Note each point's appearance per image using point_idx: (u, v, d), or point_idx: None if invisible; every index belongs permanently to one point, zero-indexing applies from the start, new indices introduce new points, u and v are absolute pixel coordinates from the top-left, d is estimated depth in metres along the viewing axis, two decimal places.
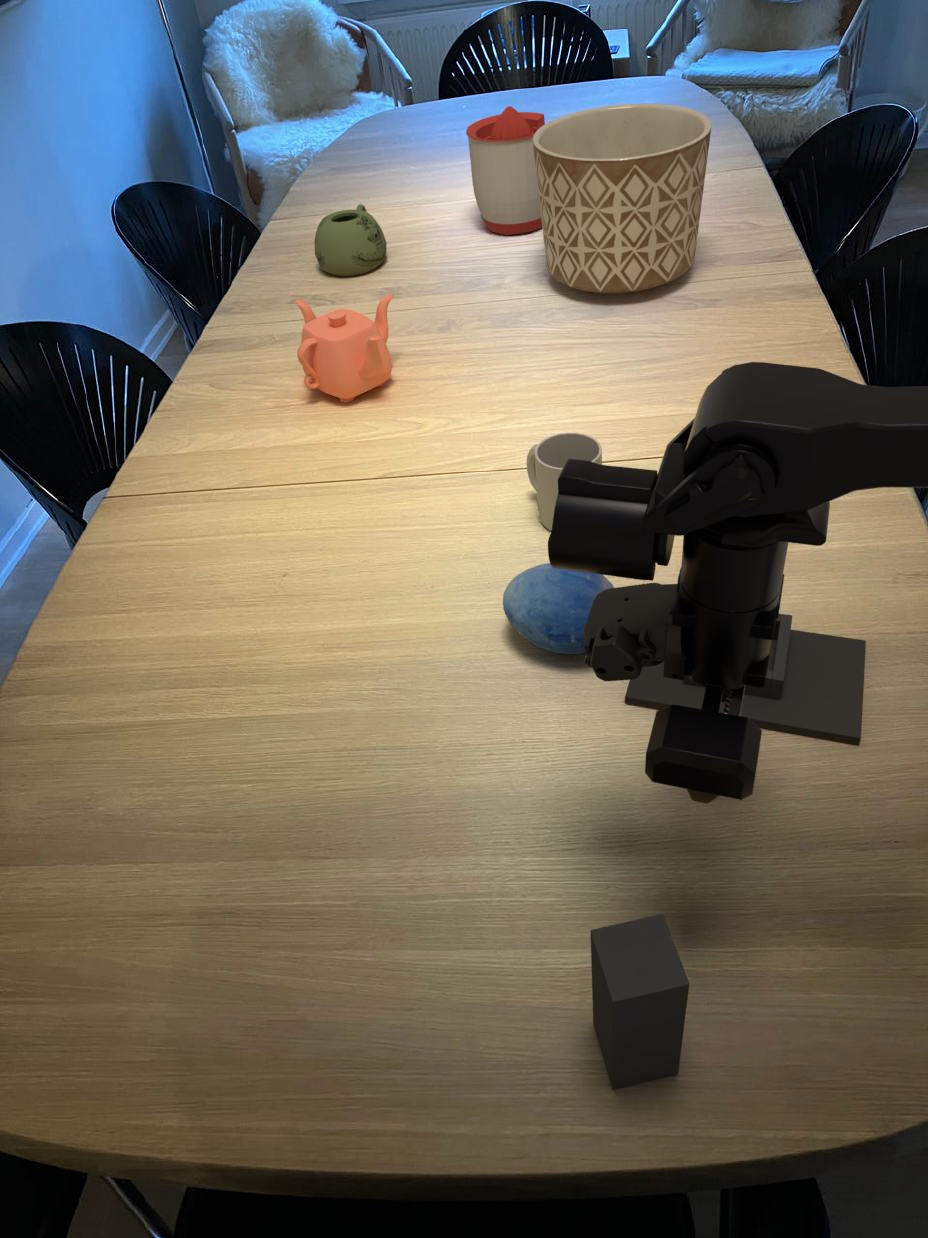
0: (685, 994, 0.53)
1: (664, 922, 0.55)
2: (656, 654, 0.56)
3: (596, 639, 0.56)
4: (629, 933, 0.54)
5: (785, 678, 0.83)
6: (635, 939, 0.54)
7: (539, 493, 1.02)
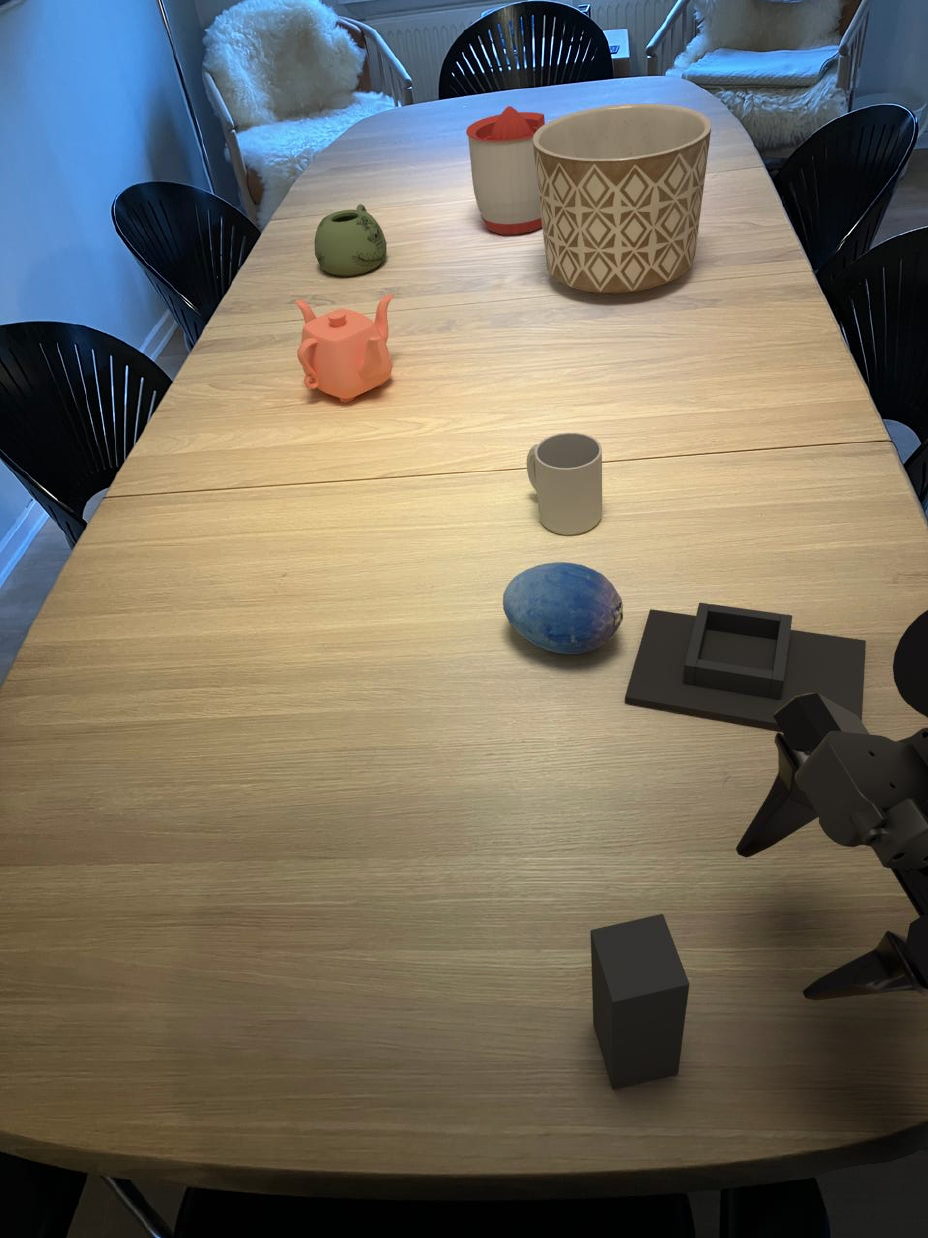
0: (685, 994, 0.53)
1: (664, 922, 0.55)
2: None
3: (924, 818, 0.42)
4: (629, 933, 0.54)
5: (785, 678, 0.83)
6: (635, 939, 0.54)
7: (539, 493, 1.02)
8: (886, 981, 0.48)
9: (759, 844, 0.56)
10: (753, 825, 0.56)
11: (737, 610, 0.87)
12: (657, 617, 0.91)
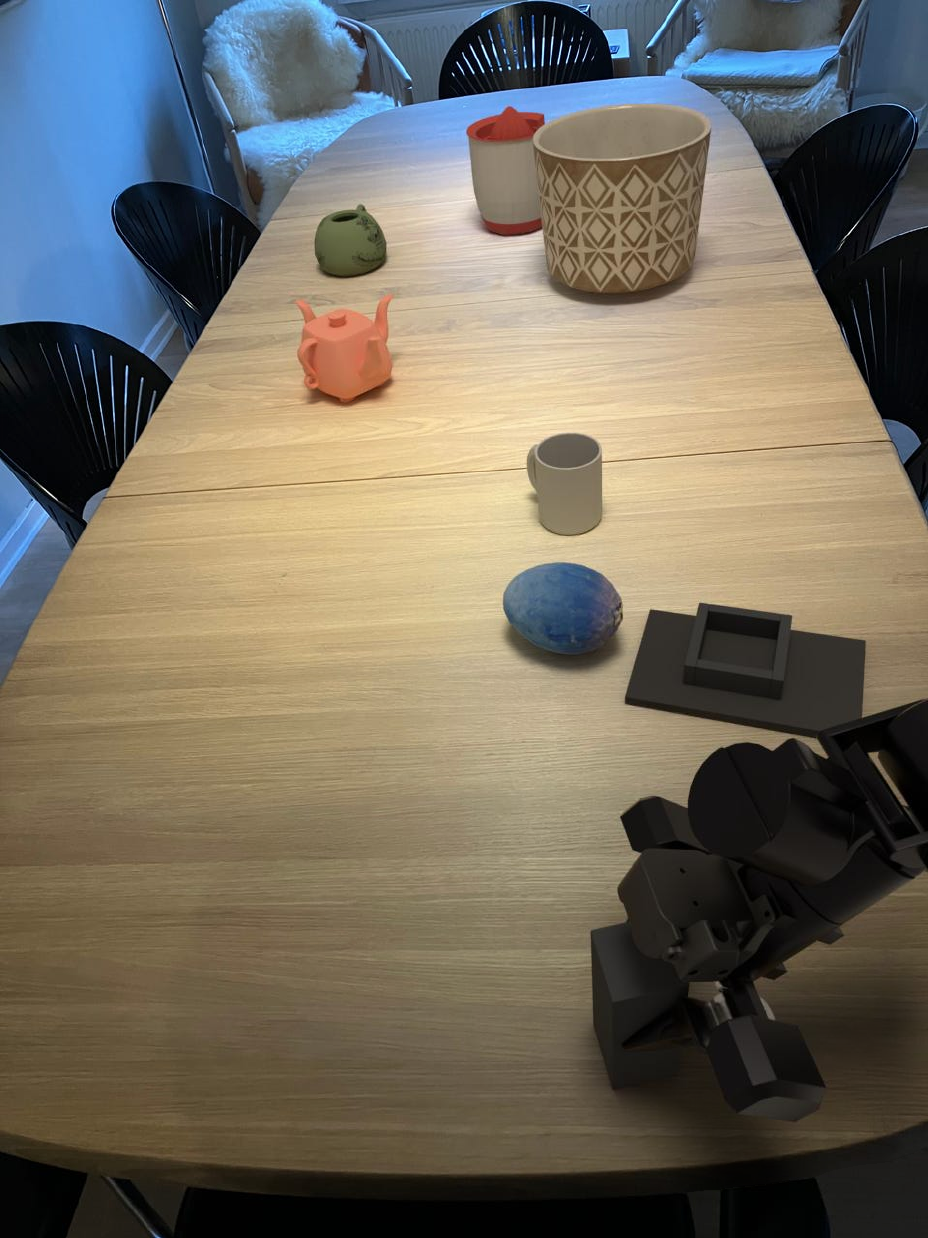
0: (685, 994, 0.53)
1: None
2: None
3: (713, 940, 0.46)
4: (629, 933, 0.54)
5: (785, 678, 0.83)
6: None
7: (539, 493, 1.02)
8: (689, 1037, 0.53)
9: None
10: None
11: (737, 610, 0.87)
12: (657, 617, 0.91)
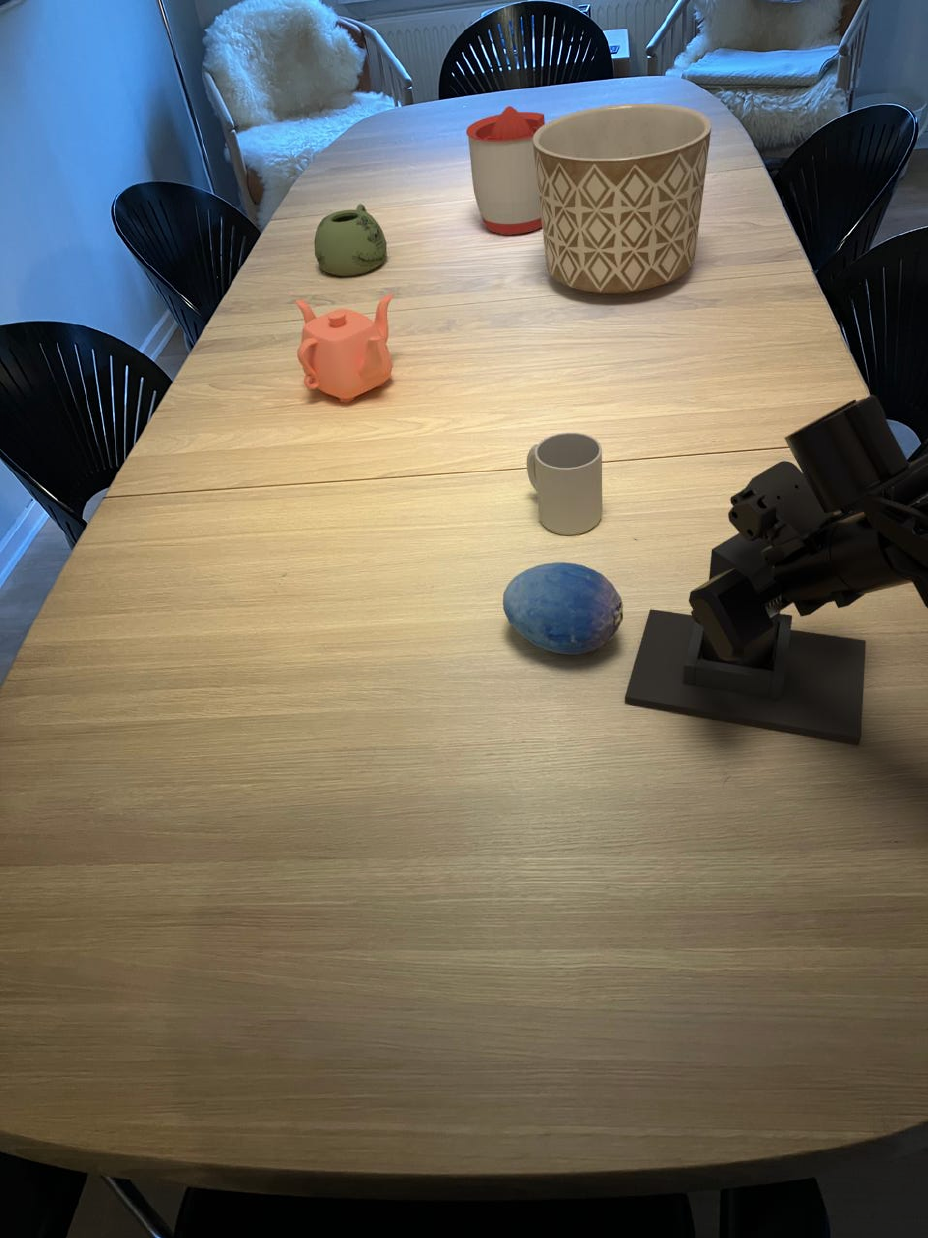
0: None
1: None
2: (773, 540, 0.70)
3: (754, 499, 0.68)
4: (762, 541, 0.77)
5: (785, 678, 0.83)
6: (761, 545, 0.77)
7: (539, 493, 1.02)
8: None
9: None
10: None
11: None
12: (657, 617, 0.91)
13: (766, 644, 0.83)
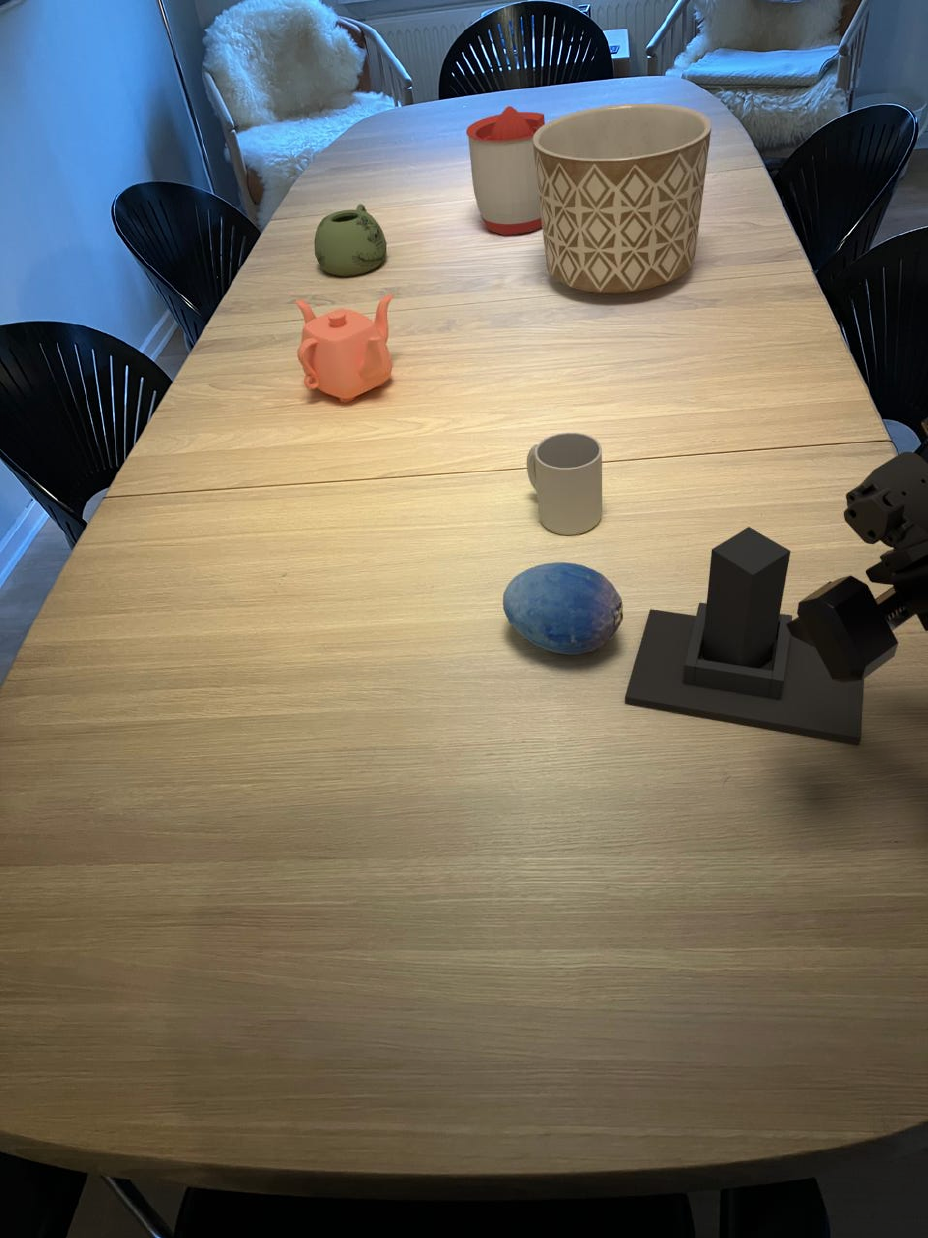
0: (749, 584, 0.75)
1: (785, 553, 0.76)
2: (897, 542, 0.60)
3: (879, 495, 0.59)
4: (762, 541, 0.77)
5: (785, 678, 0.83)
6: (761, 545, 0.77)
7: (539, 493, 1.02)
8: None
9: (880, 574, 0.72)
10: None
11: None
12: (657, 617, 0.91)
13: (766, 644, 0.83)
